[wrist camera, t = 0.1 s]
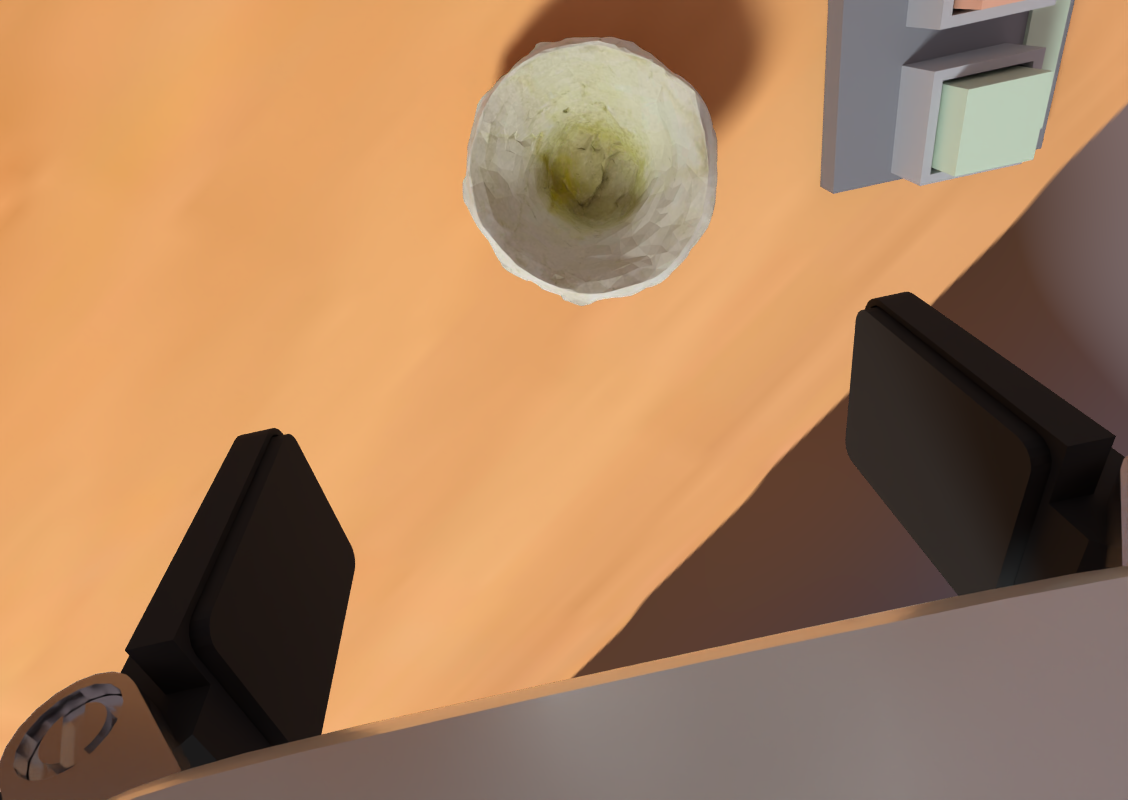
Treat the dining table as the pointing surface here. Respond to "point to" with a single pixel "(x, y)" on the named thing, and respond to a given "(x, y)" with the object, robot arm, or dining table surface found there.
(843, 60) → the button board
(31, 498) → the dining table surface
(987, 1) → the terracotta button
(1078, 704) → the robot arm
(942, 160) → the green button
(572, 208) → the bowl
